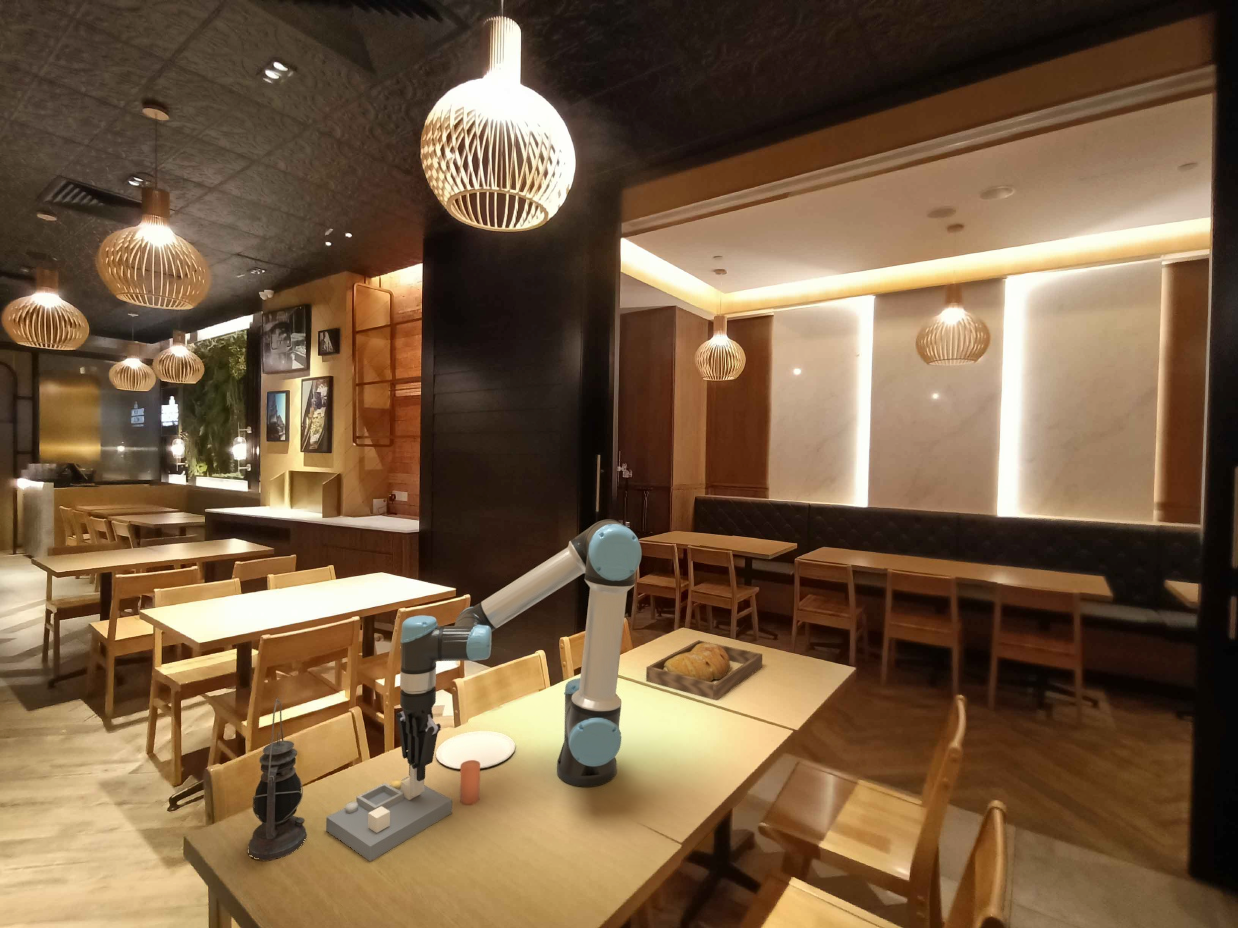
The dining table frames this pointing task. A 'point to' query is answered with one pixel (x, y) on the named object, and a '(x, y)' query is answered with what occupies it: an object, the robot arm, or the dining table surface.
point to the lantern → (277, 802)
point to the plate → (475, 749)
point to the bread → (700, 662)
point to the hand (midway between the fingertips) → (416, 792)
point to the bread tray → (701, 687)
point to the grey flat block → (403, 818)
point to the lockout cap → (470, 782)
